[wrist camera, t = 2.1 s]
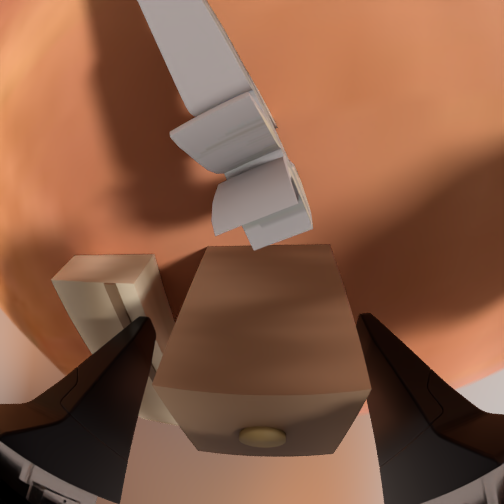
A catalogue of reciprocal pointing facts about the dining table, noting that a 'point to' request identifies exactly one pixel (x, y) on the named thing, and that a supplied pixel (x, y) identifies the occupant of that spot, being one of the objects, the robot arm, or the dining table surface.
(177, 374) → the brown block with knob
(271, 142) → the caliper
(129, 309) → the board
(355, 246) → the dining table surface
